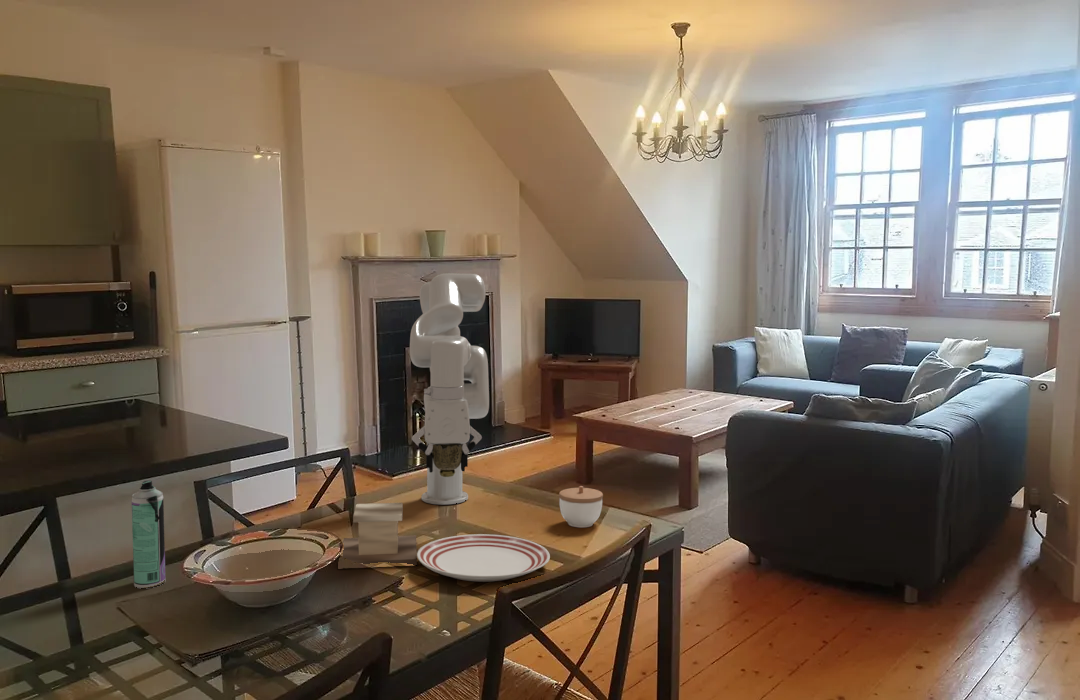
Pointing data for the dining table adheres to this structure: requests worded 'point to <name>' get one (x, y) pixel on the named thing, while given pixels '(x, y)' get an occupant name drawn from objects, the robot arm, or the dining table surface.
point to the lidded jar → (580, 506)
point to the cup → (447, 458)
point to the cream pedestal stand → (380, 536)
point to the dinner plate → (483, 557)
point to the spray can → (148, 536)
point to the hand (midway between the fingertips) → (446, 469)
